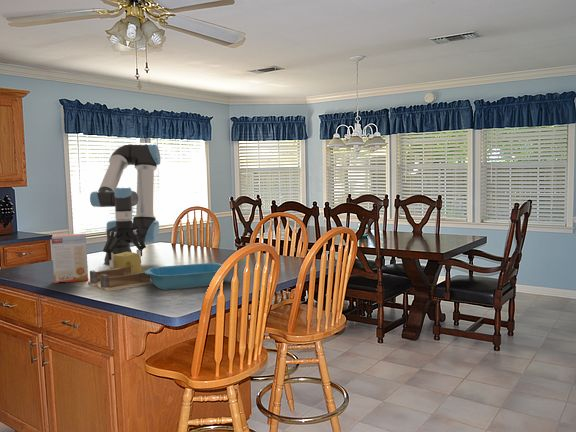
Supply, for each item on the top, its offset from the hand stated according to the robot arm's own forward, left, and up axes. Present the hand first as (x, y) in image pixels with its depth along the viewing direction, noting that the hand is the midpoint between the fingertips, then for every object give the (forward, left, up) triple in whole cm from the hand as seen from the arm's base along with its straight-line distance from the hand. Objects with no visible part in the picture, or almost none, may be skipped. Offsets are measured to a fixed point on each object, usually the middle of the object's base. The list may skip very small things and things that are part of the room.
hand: (125, 265), depth 243 cm
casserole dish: (+39, +10, -5) cm, 40 cm away
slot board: (+17, -7, -4) cm, 19 cm away
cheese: (0, 0, -5) cm, 5 cm away
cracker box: (-4, -24, -5) cm, 25 cm away
